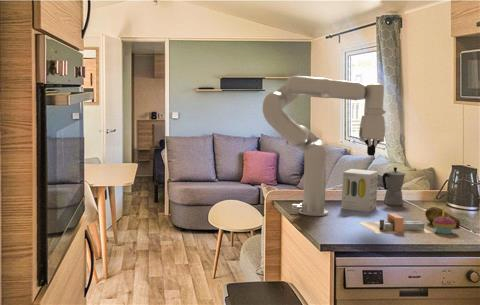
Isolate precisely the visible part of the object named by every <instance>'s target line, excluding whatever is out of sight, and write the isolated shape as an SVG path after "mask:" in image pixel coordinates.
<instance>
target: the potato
mask: <svg viewBox="0 0 480 305" xmlns="http://www.w3.org/2000/svg"><path fill="white" fill-rule="evenodd" d="M424 214H425V217H426V220H427V221H428V222H429V223H430V224H432V223H433V220H434V219H435V218H437V217H442V208H440V207H437V206H436V207H435V206H431V207H429V208H428V209H426V210H425V213H424ZM444 217H448V218H451V219H453V220H454V221H455V222H456V227H455V228H459V227H460V226H461V222H460V220H459V218H457V217H455V216H454V215H452V214H450V213H449V212H447V211H445V210H444Z"/></svg>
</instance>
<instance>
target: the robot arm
mask: <svg viewBox="0 0 480 305" xmlns="http://www.w3.org/2000/svg"><path fill="white" fill-rule="evenodd" d="M384 91H385V87H384V84H382V83H375V82H374V83H373V82H371V83H361V82H358V81H350V80H349V81H348V80H338V79H330V78H326V77H316V76H304V75H292V76H290V77H289V78H287V81H286V83H285V84H283V85H282V86H281V87H280V88H278V89H276V90H275V91H271V92H269V93H267V94H266V95H265V97H264V99H263V102H262V113H263V117H264V119H265V120H266V122H267V123H268V124H269V125H270V127H271V128H273V129H274V131H276V132H277V133H278V134H279V135H280V136H281V137H283V139H285V141H287V142H288V144H289V145H291V146H292V147H295V148H298V149H299V150H300V151H301V152H302V153H303V154H304V156H303V157H304V159H303V160H304V164H303V165H304V166H303V167H304V168H303V169H304V171H303V196H302V197H303V200H302V201H301V202H300V203H292V204H291V205H292V209H294V210H295V209H296V210H299V211H298V213H299V214H301V215H305V216H311V217H312V216H313V217H323V216H327V215H328V213H329V210H326V209H325V206H326V184H327V162H328V152H329V149H328V147H327V144H326V143H325V142H324V141H323V140H321V139H320V138H319V137H318V136H317V135H316V134H315V133H313V132H312V131H311V130H310V129H309V128H308V127H306V126H305V125H301V124H298V122H295V120H294V119H292V117H290V116H289V115H288V114H287V113H286V112H285V111H284V109H285V108H286V107H287V106H289V105H290V104H291V103H293V102H294V101H296V100H297V99H298V98H299V97H309V98H317V99H318V98H322V99H341V100H349V101H350V100H351V101H360V100H364V113H363V115H361V119H360V123H359V124H360V125H359V132H358V137H359V141H360V142H363V143H365V145H366V146H367V149H366V152H367V156H371V157H375V154H376V147H377V145H379V144H380V143H384V142H385V136H386V126H385V124H386V122H385V117H384V114H386V109H384Z"/></svg>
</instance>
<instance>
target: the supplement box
mask: <svg viewBox="0 0 480 305" xmlns="http://www.w3.org/2000/svg"><path fill="white" fill-rule="evenodd" d="M378 178H379V171H378V170H368V169H367V170H366V169H359V168H358V169H356V168H350V169H347V170H345V171H343V172H342V190H341V208H340V209H341V210H347V211H348V210H349V211H355V212H364V213H367V212H371V211H373V210H374V209H376V208H377V197H378V196H377V194H378Z"/></svg>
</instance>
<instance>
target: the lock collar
mask: <svg viewBox="0 0 480 305" xmlns="http://www.w3.org/2000/svg"><path fill="white" fill-rule="evenodd" d="M386 219H387V220H386V221H395V228H394V231H395V232H403V222H404V221H405V220H404V219H405V218H404V217H403V216H401V215H399V214H397V213H393V212H392V213H387V217H386Z"/></svg>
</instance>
